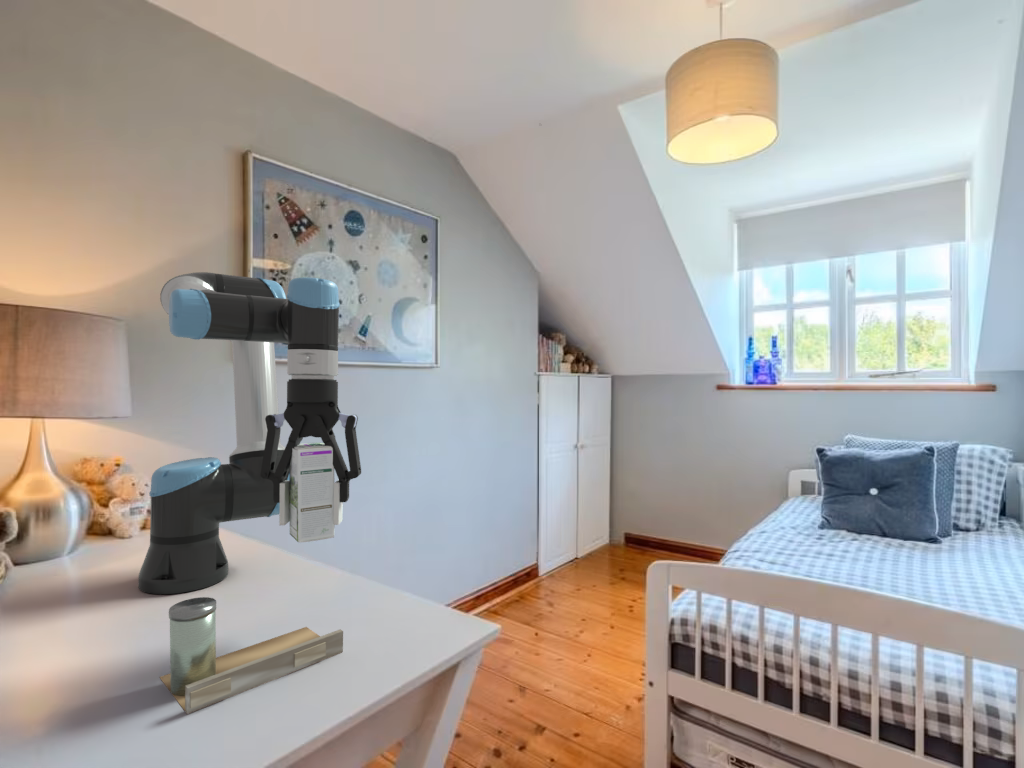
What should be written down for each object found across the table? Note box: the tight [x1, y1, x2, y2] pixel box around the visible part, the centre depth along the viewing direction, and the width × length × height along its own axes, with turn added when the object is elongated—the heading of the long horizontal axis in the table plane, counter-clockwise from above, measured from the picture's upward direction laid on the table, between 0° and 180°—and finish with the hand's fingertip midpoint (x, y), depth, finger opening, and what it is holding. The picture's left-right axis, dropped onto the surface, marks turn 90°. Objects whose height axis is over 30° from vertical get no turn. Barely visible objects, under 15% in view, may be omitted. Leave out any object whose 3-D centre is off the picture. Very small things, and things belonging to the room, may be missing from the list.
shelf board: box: [159, 626, 344, 715], centre depth 74 cm, size 11×20×4 cm, turn 137°
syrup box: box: [289, 442, 336, 544], centre depth 85 cm, size 6×6×14 cm
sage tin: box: [168, 596, 217, 696], centre depth 69 cm, size 5×5×10 cm
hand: (311, 522), depth 85 cm, fingers closed on syrup box, 7 cm apart
